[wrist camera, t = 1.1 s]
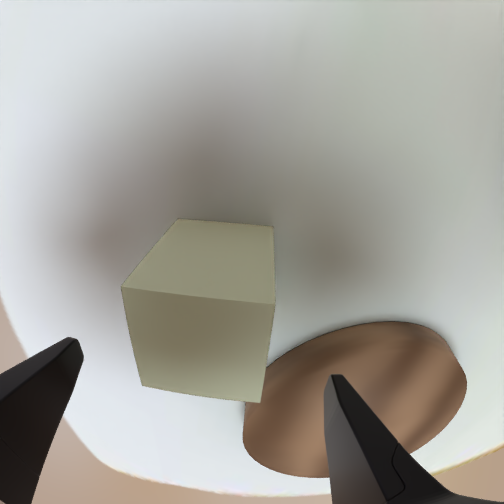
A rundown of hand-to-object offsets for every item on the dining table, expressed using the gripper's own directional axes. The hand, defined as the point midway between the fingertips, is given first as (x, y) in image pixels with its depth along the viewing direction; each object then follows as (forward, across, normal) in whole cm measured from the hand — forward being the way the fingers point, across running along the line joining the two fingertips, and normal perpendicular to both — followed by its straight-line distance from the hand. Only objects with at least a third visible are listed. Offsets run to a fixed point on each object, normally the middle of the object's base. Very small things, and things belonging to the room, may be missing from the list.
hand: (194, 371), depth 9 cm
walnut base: (+8, -11, +12) cm, 18 cm away
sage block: (+8, 0, 0) cm, 8 cm away
